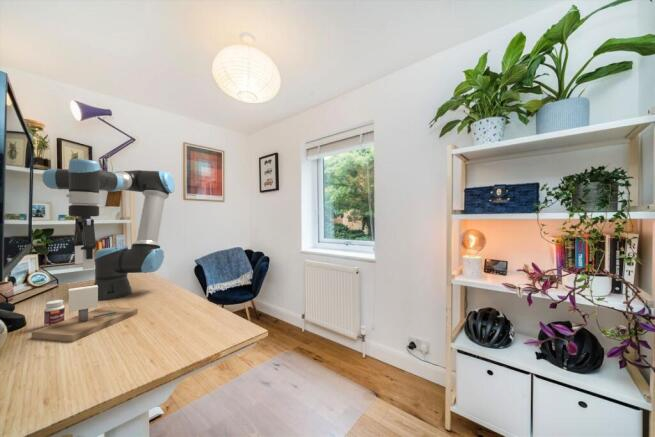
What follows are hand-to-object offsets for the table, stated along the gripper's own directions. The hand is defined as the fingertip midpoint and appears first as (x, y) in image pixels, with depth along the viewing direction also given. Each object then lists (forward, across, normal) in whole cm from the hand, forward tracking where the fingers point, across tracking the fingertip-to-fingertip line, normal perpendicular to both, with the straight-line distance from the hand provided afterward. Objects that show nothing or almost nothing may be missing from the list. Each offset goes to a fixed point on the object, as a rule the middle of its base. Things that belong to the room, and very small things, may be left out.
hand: (84, 266), depth 85 cm
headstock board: (+21, +1, +2) cm, 21 cm away
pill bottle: (+21, -8, -6) cm, 23 cm away
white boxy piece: (+19, +1, +2) cm, 19 cm away
